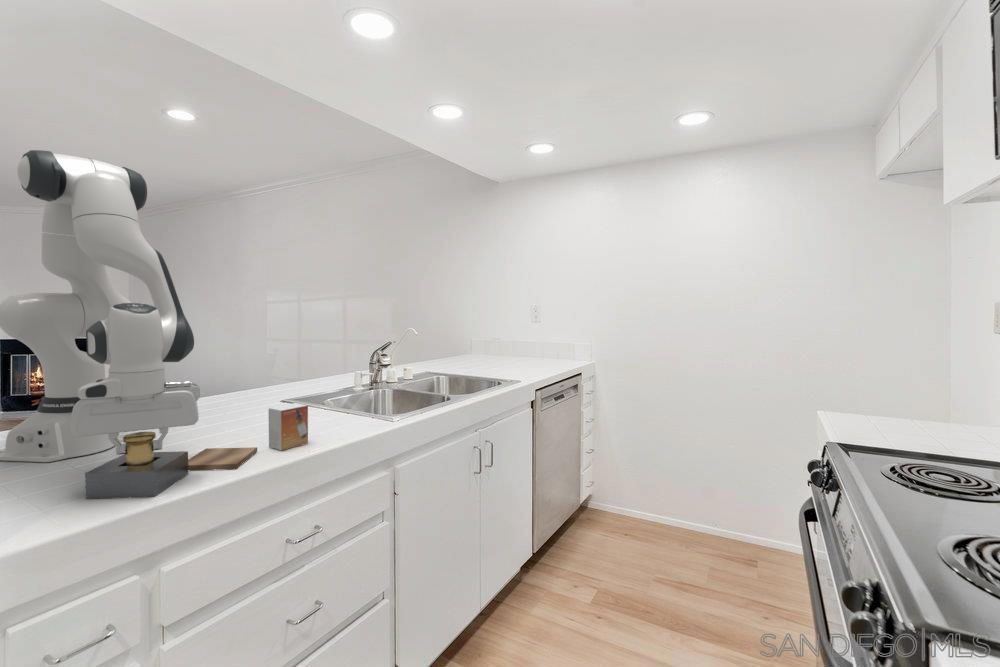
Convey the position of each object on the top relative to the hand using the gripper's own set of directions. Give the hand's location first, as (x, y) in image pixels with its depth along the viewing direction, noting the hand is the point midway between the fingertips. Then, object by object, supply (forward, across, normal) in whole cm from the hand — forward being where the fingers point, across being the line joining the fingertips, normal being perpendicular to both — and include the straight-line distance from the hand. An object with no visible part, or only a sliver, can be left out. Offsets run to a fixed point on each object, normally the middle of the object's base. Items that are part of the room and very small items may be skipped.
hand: (140, 451), depth 93 cm
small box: (+7, -30, -14) cm, 33 cm away
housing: (+7, 0, 0) cm, 7 cm away
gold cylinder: (+7, 0, 0) cm, 7 cm away
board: (+7, -14, -9) cm, 18 cm away
